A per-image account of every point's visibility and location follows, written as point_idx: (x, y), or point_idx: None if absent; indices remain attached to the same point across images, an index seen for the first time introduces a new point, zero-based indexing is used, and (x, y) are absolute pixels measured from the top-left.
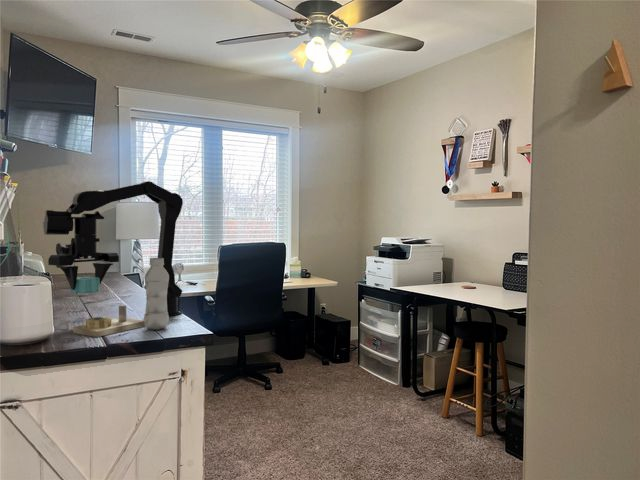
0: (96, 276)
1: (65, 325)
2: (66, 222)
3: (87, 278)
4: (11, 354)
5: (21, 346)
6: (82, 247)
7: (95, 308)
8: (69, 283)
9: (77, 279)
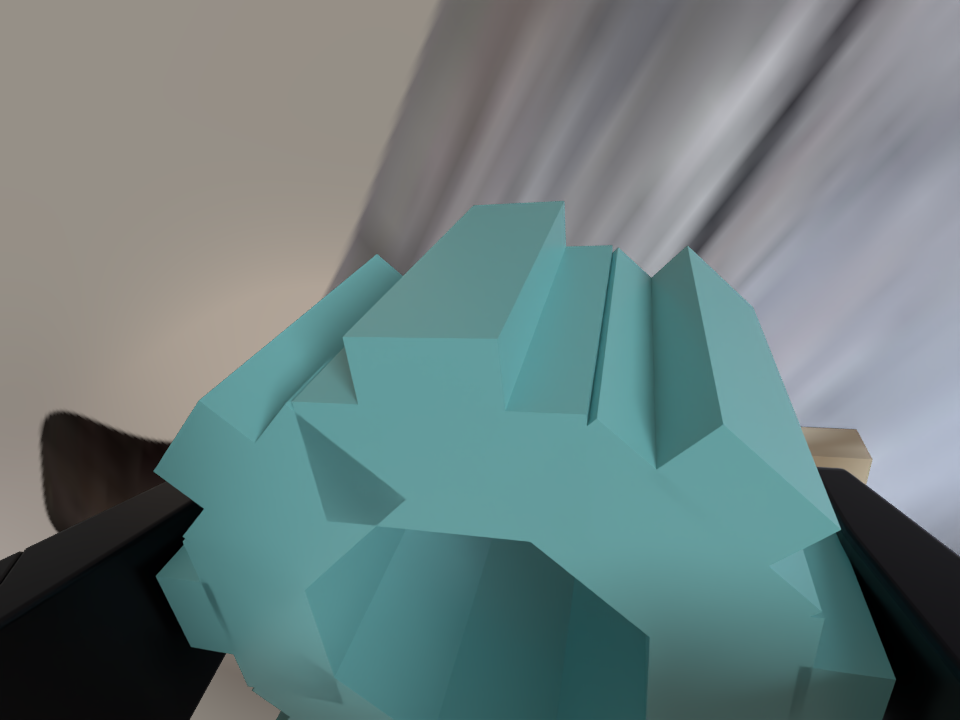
0: (919, 716)
1: (454, 117)
2: None
3: (609, 576)
4: (62, 517)
5: (97, 444)
6: None
7: None
8: (160, 497)
9: (239, 658)
